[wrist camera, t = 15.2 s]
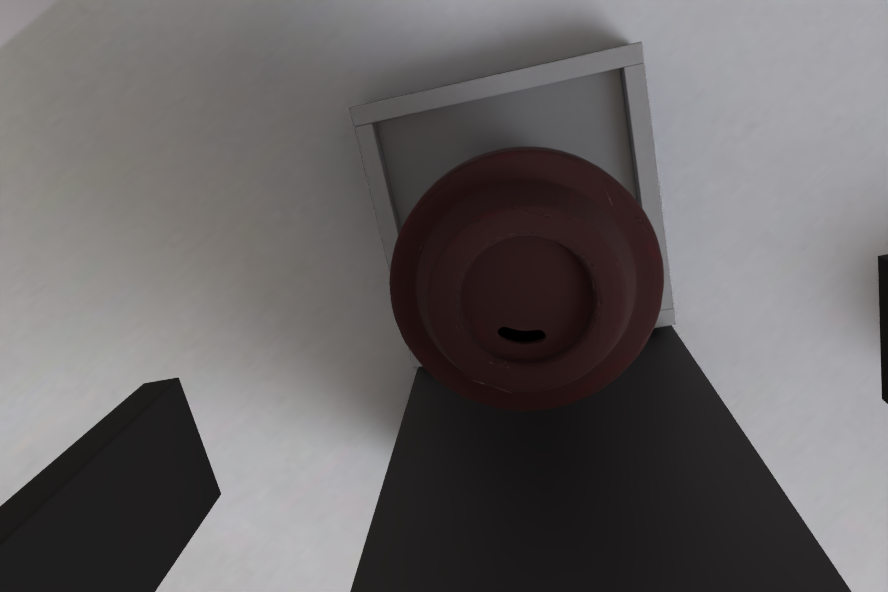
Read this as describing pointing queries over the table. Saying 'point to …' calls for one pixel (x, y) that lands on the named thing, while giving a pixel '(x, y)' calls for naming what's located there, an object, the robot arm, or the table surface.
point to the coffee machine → (577, 424)
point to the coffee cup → (526, 279)
